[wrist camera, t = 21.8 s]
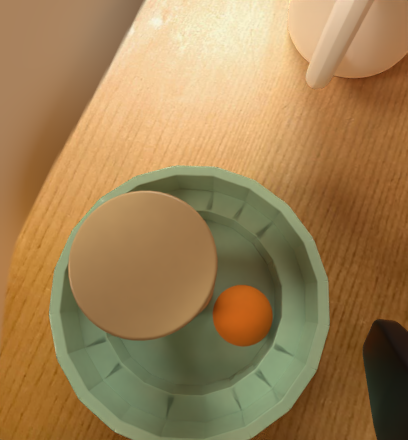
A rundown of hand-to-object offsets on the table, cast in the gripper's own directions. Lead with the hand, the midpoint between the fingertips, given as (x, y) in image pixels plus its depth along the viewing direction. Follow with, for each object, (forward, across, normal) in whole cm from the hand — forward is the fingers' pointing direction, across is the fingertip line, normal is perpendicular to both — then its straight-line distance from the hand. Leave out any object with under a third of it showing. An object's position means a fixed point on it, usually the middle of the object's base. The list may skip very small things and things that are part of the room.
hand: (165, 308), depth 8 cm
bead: (+8, -3, +8) cm, 11 cm away
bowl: (+9, 0, +9) cm, 13 cm away
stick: (+9, +1, +8) cm, 12 cm away
